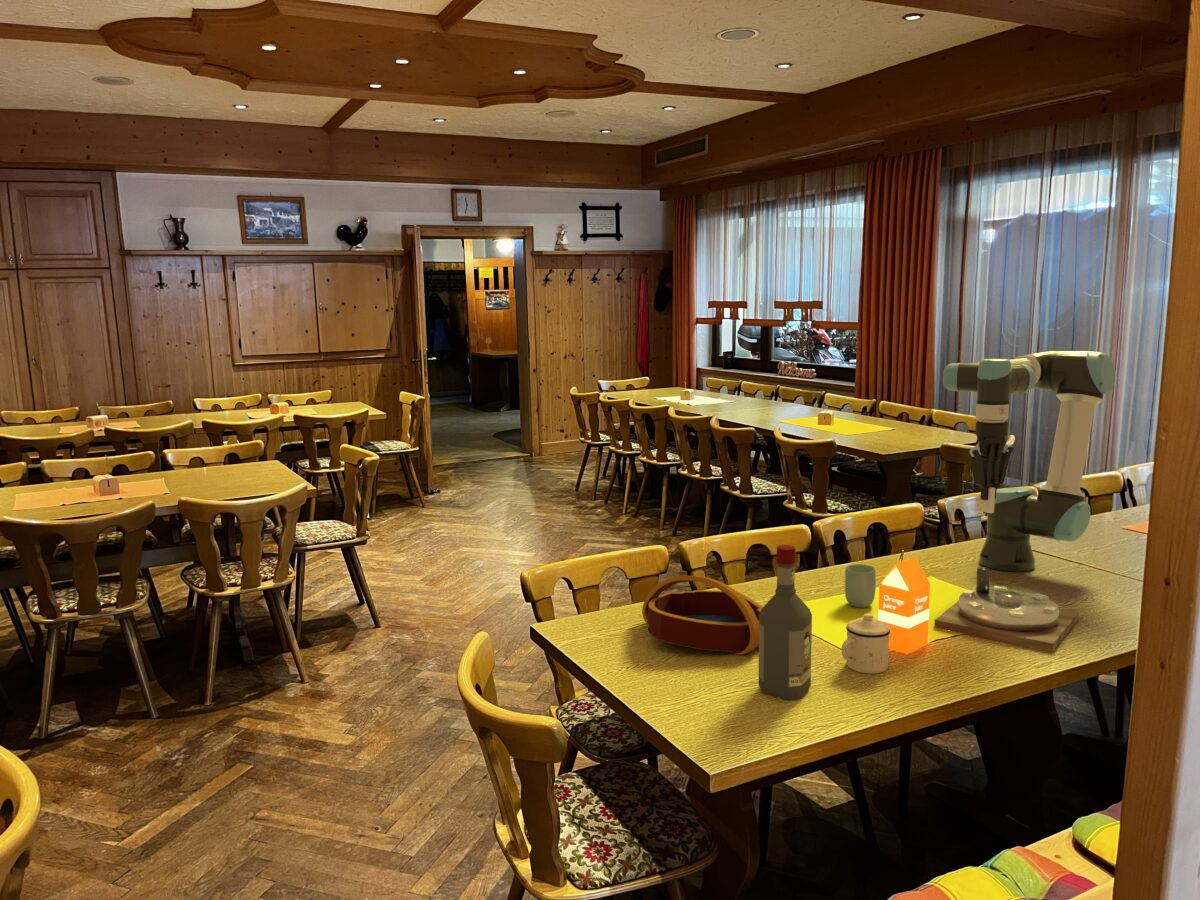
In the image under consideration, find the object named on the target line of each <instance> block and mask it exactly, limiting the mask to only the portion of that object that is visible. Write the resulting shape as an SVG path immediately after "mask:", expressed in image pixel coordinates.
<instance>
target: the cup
mask: <svg viewBox="0 0 1200 900" xmlns="http://www.w3.org/2000/svg"><path fill="white" fill-rule="evenodd" d="M876 585H877V569H876V567H874V566H871V565H868V564H867V565H866V564H858V563H855V564H854V563H853V564H848V565H846V566H845V568H844V596H845V600H846V602H847V603H848V604H849V606H851V607H855V608H860V609H861V608H862V609H863V608H864V609H865V608H868V607H870V606H871V605H872V604H873V602H874V601H875V595H876V589H877V586H876Z"/></svg>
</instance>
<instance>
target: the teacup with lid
mask: <svg viewBox="0 0 1200 900" xmlns="http://www.w3.org/2000/svg"><path fill="white" fill-rule="evenodd" d="M845 629H846V631H847V632H846V633H847V634H846V635H847V636H846V640H844V641H843V642H842V644H841V649H840V650H841V655H842V658H843V659H844V660H845V661H846V665H847V666H848V668H850V669H851V670H852V671H855V672H857V673H862V674H869V675H870V674H871V675H872V674H882V673H884V672H886V671H887V670H888V668H889V653H890V651H889V634H890V628H889V626H888V625H887V624H885V623H884V622H881V621H878V618H874V615H873V614H872V613H864V614H863V617H861V618H860V617H859V618H857V619H853V620H850V621H849V622H848V623H847V624H846V627H845Z"/></svg>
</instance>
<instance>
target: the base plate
mask: <svg viewBox="0 0 1200 900" xmlns="http://www.w3.org/2000/svg"><path fill="white" fill-rule="evenodd" d="M1079 617H1080V612H1079V611H1075V610H1071V609H1065V608H1061V607H1059V622H1058V624H1057V625H1056V626H1054V627H1052V628H1049V629H1044V630H1036V631H1016V630H1006V629H999V628H994V627H989V626H985V625H982V624H978V623H976V622H973V621H971V620H968V619H967V618H965V617H963V616H962V615H961V614H960V613H959V600H957V601H956V602H955V603H954V604H952V605H951V606H950V607H948V608H947V609H946V610H945V611H943V612H942V613H941V614H940V615H938V616H937V617H936V618H935V619H934V626H933V627H934V629H938V628H939V629H938V630H943V629H944V630H945V631H948V630H950V631H949V632H953V633H958V634H962V635H963V634H964V635H968V636H973V637H977V638H982V639H986V640H992V641H995V642H996V641H997V642H1002V643H1007V644H1010V645H1016V646H1020V647H1025V648H1030V649H1034V650H1041V651H1045V652H1048V653H1054V652H1055V650H1056V649H1057V648H1058V646H1060V644H1061V643H1062V641H1063V640H1064V639H1065V637H1066V636H1067V635H1068V634H1069V633H1070V631H1071V630H1072V628H1073V627H1074V626H1075V625H1076V623H1077V622H1078V621H1079V620H1080V619H1079Z"/></svg>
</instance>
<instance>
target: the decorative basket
mask: <svg viewBox="0 0 1200 900" xmlns="http://www.w3.org/2000/svg"><path fill="white" fill-rule="evenodd" d="M685 582H699V583H703V584H705V585H709V586H712V587H714V588H716V589H718V590H707V589H706V590H697V589H696V590H691V591H690V590H689V591H687V590H686V591H685V590H684V591H675V592H674V591H669V592H666V593H664V592H665V591H666V590H668V589H669V588H671V587H672V586H674V585H677V584H679V583H685ZM662 593H663V594H662ZM763 607H764V606H762V605H761V604H759V603H758V602H756V601H754V600H753V599H752V598H750V597H749V596H747V595H745V594H743V593H742V592H739V591H737V590H735V589H734V588H733V587H731V586H729V585H728V584H726V583H724V582H722V581H719V580H716V579H714V578H709V577H704V576H696V575H677V576H673V577H669V578H666V579H664V580H662V581H660V582H659V583H657V584H656V585H654V586H653V588H652V589H651V590H650V591H649V592H648V594H647V595H646V597H645V600H644V602H643V604H642V607H641V608H642V618H643V620H644V623H646V625H647V632H648V633H649V634H650V635H651V636H652V637H653V638H654V639H655V638H656V639H658V640H660V641H662V642H666V643H668V644H669V643H670V644H672V645H678V646H681V647H686V648H691V649H696V650H704V651H713V652H729V653H730V652H731V653H732V654H735V655H739V656H740V655H741V656H742V655H745V654H748V653H750V652H751V653H752V652H753V651H759V614H760V611H761V609H762V608H763Z"/></svg>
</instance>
